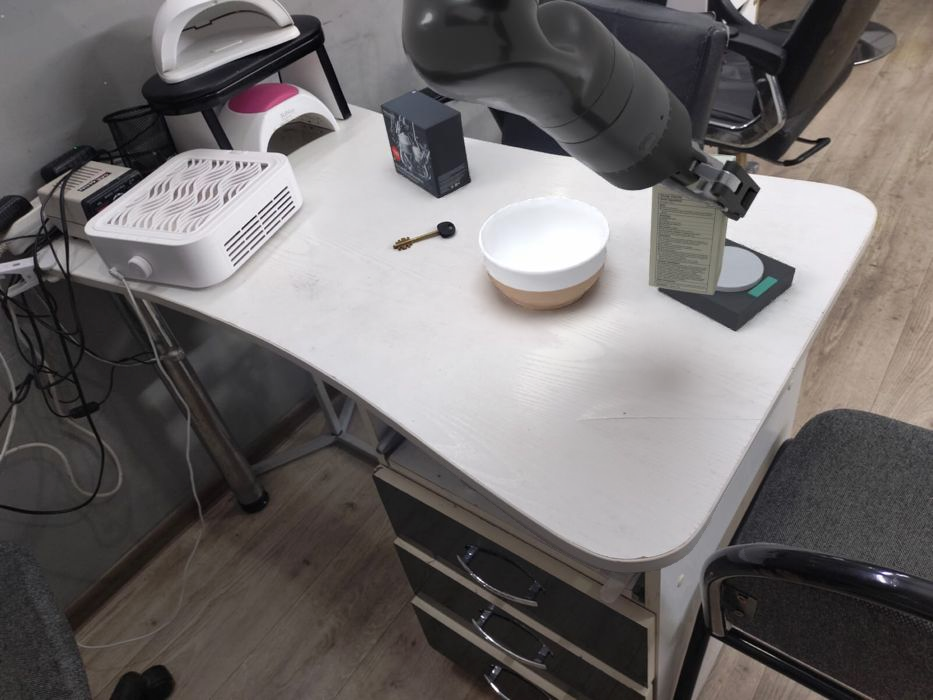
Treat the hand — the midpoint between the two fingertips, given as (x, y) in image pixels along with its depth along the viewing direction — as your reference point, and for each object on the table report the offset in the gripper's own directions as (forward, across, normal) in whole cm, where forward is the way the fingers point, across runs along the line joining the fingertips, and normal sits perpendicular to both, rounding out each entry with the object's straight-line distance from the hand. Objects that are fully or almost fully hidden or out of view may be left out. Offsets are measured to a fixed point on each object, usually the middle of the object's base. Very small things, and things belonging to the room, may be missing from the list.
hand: (702, 194), depth 61 cm
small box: (+20, +55, +10) cm, 60 cm away
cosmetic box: (+5, 0, +7) cm, 9 cm away
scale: (+25, +4, +5) cm, 26 cm away
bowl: (+15, +21, +15) cm, 30 cm away
